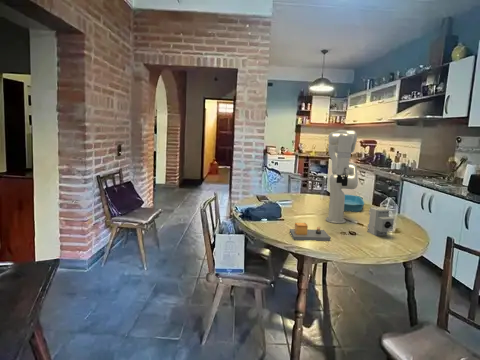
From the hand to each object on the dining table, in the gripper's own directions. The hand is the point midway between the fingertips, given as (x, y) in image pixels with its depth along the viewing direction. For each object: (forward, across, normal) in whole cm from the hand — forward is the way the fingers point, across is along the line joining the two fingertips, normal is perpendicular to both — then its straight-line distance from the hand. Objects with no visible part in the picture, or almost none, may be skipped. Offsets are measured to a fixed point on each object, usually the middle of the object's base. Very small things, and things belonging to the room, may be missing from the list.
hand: (341, 184), depth 204 cm
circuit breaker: (+28, +6, +23) cm, 37 cm away
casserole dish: (+29, -63, +27) cm, 74 cm away
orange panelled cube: (+26, +12, -25) cm, 38 cm away
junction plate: (+28, +12, -20) cm, 37 cm away
